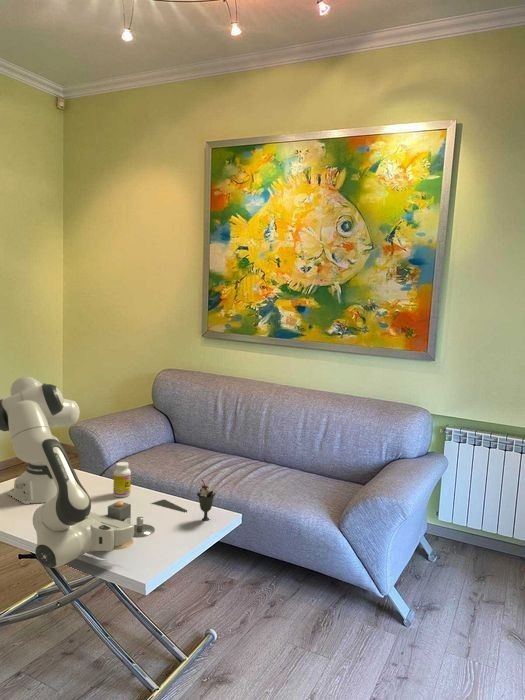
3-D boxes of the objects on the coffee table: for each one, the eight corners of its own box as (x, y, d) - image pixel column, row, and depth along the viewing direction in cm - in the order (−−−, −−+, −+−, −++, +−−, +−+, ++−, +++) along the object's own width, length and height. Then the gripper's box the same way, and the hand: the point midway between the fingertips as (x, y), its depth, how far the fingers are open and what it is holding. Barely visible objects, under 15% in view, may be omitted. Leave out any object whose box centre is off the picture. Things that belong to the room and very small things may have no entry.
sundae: (196, 517, 186) (197, 477, 185) (214, 517, 187) (215, 477, 185) (195, 525, 180) (196, 483, 178) (214, 525, 180) (215, 484, 179)
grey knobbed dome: (118, 534, 170) (118, 520, 170) (138, 523, 179) (138, 509, 179) (141, 541, 166) (141, 527, 165) (160, 530, 175) (161, 516, 174)
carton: (107, 536, 162) (107, 503, 161) (118, 530, 167) (118, 498, 166) (119, 539, 160) (119, 507, 159) (130, 533, 164) (130, 501, 163)
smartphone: (173, 516, 185) (148, 503, 195) (173, 518, 185) (148, 506, 195) (189, 510, 191) (164, 498, 201) (188, 513, 191) (164, 501, 201)
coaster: (98, 546, 162) (98, 544, 162) (118, 535, 170) (118, 533, 170) (119, 553, 158) (119, 551, 158) (139, 542, 166) (139, 540, 166)
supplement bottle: (125, 498, 201) (126, 467, 200) (110, 496, 202) (110, 465, 201) (133, 492, 207) (133, 462, 206) (118, 490, 209) (118, 460, 207)
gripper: (63, 536, 156) (97, 519, 169) (114, 552, 147) (145, 534, 159) (63, 516, 156) (97, 501, 168) (114, 531, 146) (146, 515, 159)
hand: (121, 517), depth 164 cm, fingers closed on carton, 5 cm apart
